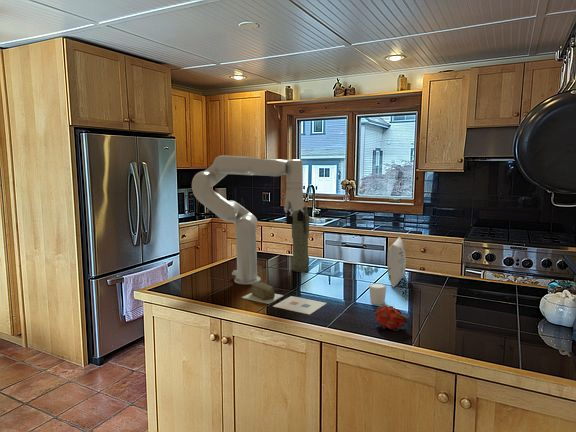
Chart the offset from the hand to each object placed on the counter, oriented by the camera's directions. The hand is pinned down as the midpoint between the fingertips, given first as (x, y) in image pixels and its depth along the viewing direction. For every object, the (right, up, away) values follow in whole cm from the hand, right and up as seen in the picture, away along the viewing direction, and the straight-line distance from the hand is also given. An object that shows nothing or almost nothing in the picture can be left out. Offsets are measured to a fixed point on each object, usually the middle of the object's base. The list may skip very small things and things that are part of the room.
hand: (295, 222), depth 195 cm
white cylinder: (+33, -32, -26) cm, 53 cm away
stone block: (-14, -31, -18) cm, 39 cm away
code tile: (+1, -33, -28) cm, 43 cm away
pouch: (+48, -28, 0) cm, 55 cm away
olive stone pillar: (+3, -25, +23) cm, 35 cm away
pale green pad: (-14, -31, -18) cm, 39 cm away
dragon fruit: (+32, -36, -51) cm, 70 cm away
